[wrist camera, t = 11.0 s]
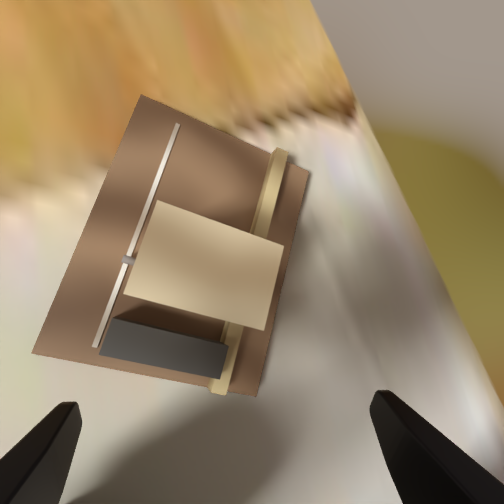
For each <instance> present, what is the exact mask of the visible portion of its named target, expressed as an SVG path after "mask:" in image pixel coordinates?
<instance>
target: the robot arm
mask: <svg viewBox="0 0 504 504" xmlns="http://www.w3.org/2000/svg"><path fill="white" fill-rule="evenodd" d="M370 416H371V419H372V422H373V425H374V428H375V431H376V434H377V437H378V440H379V443H380V446H381V450H382V453H383V456H384V459H385V461H386V464H387V467H388V470H389V472H390V475H391V477H392V479H393V482H394V484H395V486H396V489H397V491H398V493H399V496H400V498H401V500H402V503H403V504H504V485H503V484H502V483H501V482H500V481H499V480H497V479H496V478H495V477H494V476H493V475H491V474H490V473H489V472H488V471H487V470H485V469H484V468H483V467H482V466H481V465H479V464H478V463H477V462H476V461H475V460H473V459H472V458H471V457H470V456H469V455H467V454H466V453H465V452H464V451H463V450H461V449H460V448H459V447H458V446H457V445H455V444H454V443H453V442H452V441H451V440H449V439H448V438H447V437H446V436H444V435H443V434H442V433H441V432H440V431H438V430H437V429H436V428H435V427H434V426H432V425H431V424H430V423H429V422H428V421H426V420H425V419H424V418H423V417H422V416H420V415H419V414H418V413H417V412H416V411H414V410H413V409H412V408H411V407H410V406H408V405H407V404H406V403H405V402H404V401H402V400H401V399H400V398H399V397H398V396H396V395H395V394H394V393H393V392H391V391H389V390H378V391H376V392H375V395H374V397H373V400H372V402H371V405H370ZM81 427H82V418H81V414H80V409H79V405H78V403H77V402H62V403H60V404H58V405H57V406H56V407H55V408H54V409H53V410H52V411H51V412H50V413H49V414H48V415H47V416H46V417H44V418H43V419H42V420H41V421H40V422H39V423H38V424H37V425H36V426H35V427H34V428H33V429H32V430H31V431H30V432H29V433H28V434H27V435H25V436H24V437H23V438H22V439H21V440H20V441H19V442H18V443H17V444H16V445H15V446H14V447H13V448H12V449H11V450H10V451H9V452H8V453H6V454H5V455H4V456H3V457H2V458H1V459H0V504H59V501H60V498H61V495H62V493H63V490H64V486H65V483H66V480H67V476H68V473H69V469H70V466H71V463H72V459H73V456H74V452H75V449H76V445H77V442H78V438H79V435H80V432H81Z"/></svg>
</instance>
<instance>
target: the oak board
mask: <svg viewBox="0 0 504 504" xmlns="http://www.w3.org/2000/svg"><path fill="white" fill-rule="evenodd" d="M288 153H289V152H287V151H284V150H282V149H280V148H278V147H277V148H276V149H275V150H274V151H273V153H272V154H269V153H267V152H265V151H263V150H261V149H259V148H256V147H254V146H252V145H250V144H248V143H246V142H243V141H241V140H239V139H237V138H235V137H233V136H230V135H228V134H226V133H224V132H222V131H220V130H217V129H215V128H213V127H211V126H209V125H207V124H204V123H202V122H200V121H198V120H196V119H194V118H191V117H189V116H187V115H185V114H183V113H181V112H178V111H176V110H174V109H172V108H170V107H168V106H165V105H163V104H161V103H159V102H157V101H155V100H152V99H150V98H148V97H146V96H144V95H142V94H141V95H140V98H139V100H138V102H137V105H136V107H135V110H134V112H133V114H132V117H131V119H130V121H129V124H128V126H127V128H126V131H125V133H124V135H123V138H122V140H121V143H120V145H119V147H118V150H117V152H116V154H115V157H114V159H113V161H112V164H111V166H110V169H109V171H108V173H107V176H106V178H105V180H104V183H103V185H102V187H101V190H100V192H99V194H98V197H97V199H96V202H95V204H94V206H93V209H92V211H91V213H90V216H89V218H88V220H87V223H86V225H85V228H84V230H83V232H82V235H81V237H80V239H79V242H78V244H77V246H76V249H75V251H74V253H73V256H72V258H71V261H70V263H69V265H68V268H67V270H66V272H65V275H64V277H63V279H62V282H61V284H60V286H59V289H58V291H57V294H56V296H55V298H54V301H53V303H52V305H51V308H50V310H49V312H48V315H47V317H46V320H45V322H44V324H43V327H42V329H41V331H40V334H39V336H38V338H37V341H36V343H35V345H34V348H33V350H32V354H37V355H43V356H48V357H53V358H58V359H63V360H69V361H74V362H79V363H84V364H89V365H94V366H100V367H105V368H110V369H115V370H120V371H126V372H131V373H136V374H141V375H146V376H151V377H157V378H162V379H167V380H172V381H177V382H183V383H188V384H193V385H198V386H203V387H207V388H208V389H209V391H210V392H211V393H215V394H220V395H226V393H227V391H229V392H234V393H240V394H245V395H250V396H255V397H256V396H257V391H258V387H259V383H260V379H261V374H262V370H263V366H264V361H265V357H266V353H267V349H268V344H269V340H270V336H271V331H272V327H273V323H274V319H275V314H276V310H277V306H278V301H279V297H280V293H281V289H282V284H283V280H284V276H285V272H286V267H287V263H288V259H289V254H290V250H291V246H292V242H293V237H294V233H295V229H296V224H297V220H298V216H299V212H300V207H301V203H302V199H303V195H304V190H305V186H306V182H307V177H308V173H309V172H308V171H306V170H304V169H302V168H300V167H298V166H295V165H293V164H291V163H289V162H287V161H286V160H287V157H288ZM157 200H159V201H162V202H164V203H167V204H170V205H173V206H175V207H178V208H181V209H184V210H186V211H189V212H192V213H195V214H197V215H200V216H203V217H206V218H208V219H211V220H214V221H217V222H219V223H222V224H225V225H228V226H230V227H233V228H236V229H239V230H241V231H244V232H247V233H250V234H252V235H255V236H258V237H261V238H264V239H266V240H269V241H272V242H275V243H277V244H280V245H283V246H284V248H283V253H282V257H281V261H280V265H279V269H278V274H277V278H276V282H275V286H274V291H273V295H272V299H271V303H270V307H269V312H268V316H267V320H266V324H265V328H264V331H263V330H259V329H255V328H251V327H247V326H244V325H240V324H236V323H232V322H228V321H224V320H221V319H217V318H213V317H209V316H205V315H202V314H198V313H194V312H190V311H186V310H183V309H179V308H175V307H171V306H167V305H164V304H160V303H156V302H152V301H148V300H145V299H141V298H137V297H133V296H129V295H126V294H123V293H124V290H125V287H126V285H127V282H128V279H129V276H130V274H131V271H132V268H133V266H132V265H129V264H125V263H122V262H121V261H122V258H123V256H124V255H127V256H130V257H134V258H136V257H137V254H138V252H139V249H140V246H141V243H142V241H143V238H144V235H145V232H146V230H147V227H148V224H149V221H150V219H151V216H152V213H153V210H154V208H155V205H156V202H157Z"/></svg>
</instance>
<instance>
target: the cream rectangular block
mask: <svg viewBox="0 0 504 504" xmlns="http://www.w3.org/2000/svg"><path fill="white" fill-rule="evenodd" d="M283 248H284V246H283V245H280V244H277V243H275V242H272V241H269V240H266V239H264V238H261V237H258V236H255V235H252V234H250V233H247V232H244V231H241V230H239V229H236V228H233V227H230V226H228V225H225V224H222V223H219V222H217V221H214V220H211V219H208V218H206V217H203V216H200V215H197V214H195V213H192V212H189V211H186V210H184V209H181V208H178V207H175V206H173V205H170V204H167V203H164V202H162V201H159V200H157V202H156V205H155V208H154V210H153V213H152V216H151V219H150V221H149V224H148V227H147V230H146V232H145V235H144V238H143V241H142V243H141V246H140V249H139V252H138V254H137V257H136V258H134V257H130V256H127V255H124V256H123V258H122V261H121V262H122V263H125V264H129V265H132V266H133V268H132V271H131V274H130V276H129V279H128V282H127V285H126V287H125V290H124V293H123V294H126V295H129V296H133V297H137V298H141V299H145V300H148V301H152V302H156V303H160V304H164V305H167V306H171V307H175V308H179V309H183V310H186V311H190V312H194V313H198V314H202V315H205V316H209V317H213V318H217V319H221V320H224V321H228V322H232V323H236V324H240V325H244V326H247V327H251V328H255V329H259V330H263V331H264V328H265V324H266V320H267V316H268V312H269V307H270V303H271V299H272V295H273V291H274V286H275V282H276V278H277V274H278V269H279V265H280V261H281V257H282V253H283Z"/></svg>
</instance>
